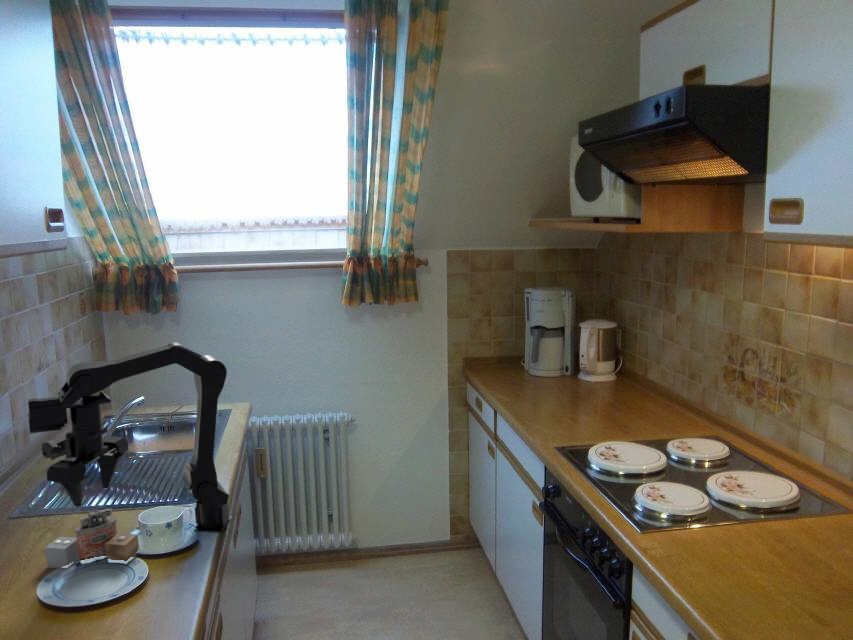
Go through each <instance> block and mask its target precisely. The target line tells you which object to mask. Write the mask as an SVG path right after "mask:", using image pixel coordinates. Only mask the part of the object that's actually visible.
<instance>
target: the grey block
mask: <svg viewBox="0 0 853 640" xmlns="http://www.w3.org/2000/svg"><path fill="white" fill-rule="evenodd" d="M44 551H45V559H46V565H47V568H53V569H61V568H60V567H63V566H66V565H69V564H70V563H72V562H75V561H76V562H78V561H79V559H78V558H79V551H78V543H77V537H73V536H72V537H70V536H59V537H57V538H55V540H53V541H51V543H49V544H48V545H47V546H45V547H44ZM76 562H75V563H76Z"/></svg>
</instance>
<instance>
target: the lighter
mask: <svg viewBox="0 0 853 640" xmlns="http://www.w3.org/2000/svg"><path fill="white" fill-rule="evenodd" d="M112 515H113V509H112V508H106V509H103V510H99V511H98V512H95V511H90V512H89V513H88V515H84V516H81V517H80V518H79V519H80V520H79V521H80V522H79V523H80V524H81V525H78V526H77V527H75V528H74V534H75V535H76V538H77V543H78V551H79V558H78V559H79V560H78V562H79V561H81V560H85V559H90V558H94V557H100V556H107V555H106V547H105V543H107V542H108V541H109V540H110V539H111V538H113V537H114V536H115V535H116V534H117V533H118V529H117V522H118V521H117V520H118V519H117V517H116V516H112Z"/></svg>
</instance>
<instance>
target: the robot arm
mask: <svg viewBox="0 0 853 640" xmlns="http://www.w3.org/2000/svg"><path fill="white" fill-rule="evenodd" d="M174 364H177V365H178V366H181V367H183V368H184V369H186V370H187V371H190V372H191V373H193V380H194V384H195V385H194V386H195V388H196V394H197V401H196V402H197V403H196V417H195V431H194V442H193V444H194V445H193V457H192V459H191V460H190V463H188V462H185V463H183V470H184V471H183V476H182V479H181V480H182V481H183V483H184V484H185V486H186V488H187V489H188V491H189V492H190V494H191V495H192V497H193V498H194V499H195V500H196V501H195V507H194V514H195V524H196V526H195V527H194V528H196V529H199V530H198V531H200V532H201V531H203V532H218V533H220V532H222V531H223V530H224V529H225V528H226V527H227V526H228V524H229V523H230V522H231V521H232V520H233V516H231V515H229V503H228V502H229V498H230V495H229V494H228V492H227V491H226V490H225V489H224V487H223V486H222V484H221V483H220V482H219V481H218V474H217V469H216V466H215V461H214V455H215V453H214V452H215V442H216V440H215V439H216V429H217V428H216V427H217V418H218V417H217V414H218V404H219V403H218V401H219V398H220V395H221V393H222V392H223V389H224V387H225V383H226V380H227V379H226V378H227V374H228V371H227V367H226V365H225V364H224V363H223V362H222V361H220V360H219V359H218V358H217V357H214V356H213V355H209V354H206V355H202V354H199V353H198V352H195V351H194V350H191V349H188V348H187V347H185V346H183V345H182V344H181V343H179V342H176V341H175V342H170V343H168V344H166V345H162V346H159V347H156V348H155V347H154V348H152V349H149V350H145V351H141V352H139V353H135V354H131V355H128V356H124V357H121V358H117V359H114V360H98V361H97V360H96V361H87V362H80V363H76V364H74V365H72V366H71V367H70V368H69V370H68V371H67V373H66V381H65V383H64V384H63V385H62V386H61V388H60V390H59V391H58V393H56V394H57V396H54V397H45V398H29V399H28V400H27V406H28V408H27V409H28V412H27V419H28V421H27V422H28V430H29V434H30V435H34V434H39V433H40V434H42V433H49V432H54V431H61V430H63V428H65V427H66V425H67V424H68V413H67V409H69V415H70V416H69V417H70V428H71V429H70V431H69V432H67V433H66V434H65V437H62V438H59V439H57V440H55V439H51V440H47V441H45V442H43V443H41V454H42V456H43V458H45V459H49V458H50V461H54V460H55V459H57V458H60V457H63V456H65V458H66V459H72V458H74V460H66V459H65V460H64V459H62V460H59V461H57V462H55V463H54V464H52V465H50V466H49V467H48V468H47V469H45V475H46V476H45V477H46V481H49V482H53V483H58V484H60V485H62V486H63V488H64V489H65V490H66V492H67V494H68V496H69V498H70V500H71V502H72V504H73V505H74V507H75V508H81V507H82V503H83V500H84V495H85V489H86V484H87V480H88V476H86V473H87V468H86V466H88V465H89V464H91V463H93V462H94V461H96V462H97V463H98V466H99V467H98V468H99V473H100V480H101V484H102V488H103V489H109V488H110V486H111V483H112V481H113V479H114V476H115V475H116V472H117V470H118V467H119V465H120V464H121V461H122V459H123V458H124V456H126V455H125V454H126V452H127V451H128V450H129V440H127V439H126V438H125V437H123V436H111V435H110V436H107V435H105V436H104V434H106V433H108V427H107V426H103V415H102V404H103V405H104V404H110V403H111V402H112V399H111V397H110V396H109V395H108V394H106V393H105V392H104V391H103V390H106V389H107V388H109V387H110V386H112V385H113V384H115V383H117V382H119V381H121V380H125V379H128V378H131V377H134V376H138V375H140V374H144V373H148V372H151V371H154V370H157V369H158V370H159V369H162V368H166V367H168V366H171V365H174Z"/></svg>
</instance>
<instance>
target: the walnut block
mask: <svg viewBox="0 0 853 640" xmlns="http://www.w3.org/2000/svg"><path fill="white" fill-rule="evenodd" d="M105 547H106V555H107V558H106V560H107V559H111V560H124V561H127V560H128V559H129V558H130V557H135V558H137V556H138V555H137V554H136V552H137V551H138V549H139V550H140V545H139V536H138V534H137V533H123V532H117V534H116V535H115V536H114V537H113V538H111V539H110V540H109V541H108V542H107V543H105Z"/></svg>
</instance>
